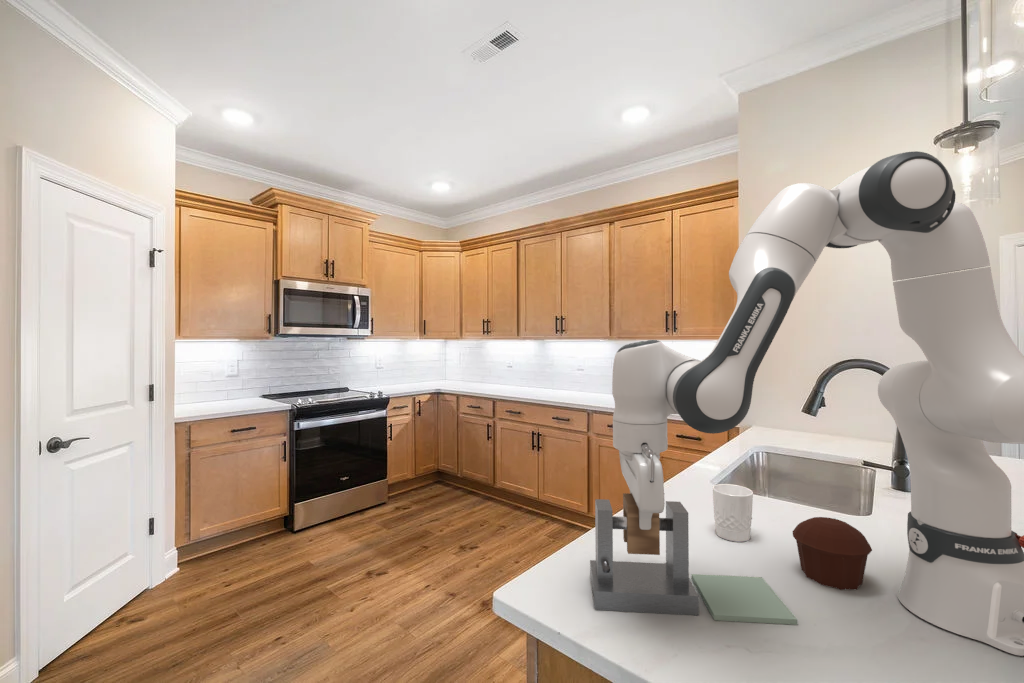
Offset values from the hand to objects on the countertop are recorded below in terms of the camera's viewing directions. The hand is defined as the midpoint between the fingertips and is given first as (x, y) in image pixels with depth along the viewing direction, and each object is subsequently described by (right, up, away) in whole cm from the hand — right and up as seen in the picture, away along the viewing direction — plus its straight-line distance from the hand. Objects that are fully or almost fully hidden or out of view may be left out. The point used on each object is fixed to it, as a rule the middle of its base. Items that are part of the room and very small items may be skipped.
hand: (640, 519), depth 76 cm
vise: (0, -13, 0) cm, 13 cm away
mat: (+16, -13, -2) cm, 20 cm away
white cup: (+26, -13, +22) cm, 37 cm away
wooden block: (0, -5, 0) cm, 5 cm away
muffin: (+36, -13, +5) cm, 38 cm away
